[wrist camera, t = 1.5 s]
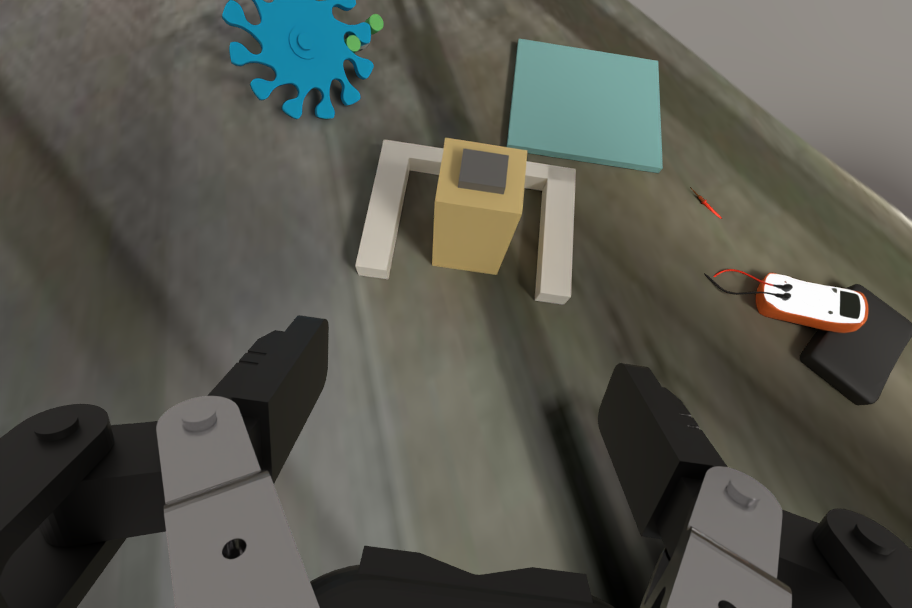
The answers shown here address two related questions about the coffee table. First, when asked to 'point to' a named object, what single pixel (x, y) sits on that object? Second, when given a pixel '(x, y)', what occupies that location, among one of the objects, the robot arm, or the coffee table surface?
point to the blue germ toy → (304, 49)
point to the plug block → (477, 205)
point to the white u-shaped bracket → (426, 159)
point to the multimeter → (837, 330)
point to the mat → (586, 106)
